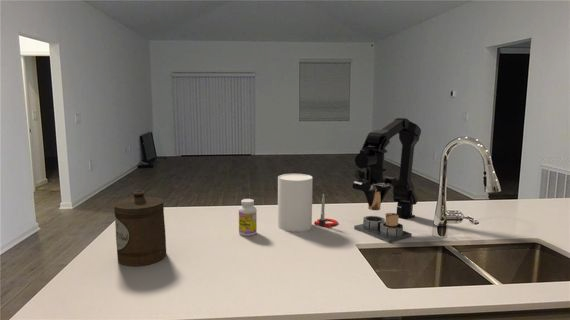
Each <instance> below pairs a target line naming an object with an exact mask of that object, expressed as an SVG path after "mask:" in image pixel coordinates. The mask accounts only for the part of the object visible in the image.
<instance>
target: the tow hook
mask: <svg viewBox="0 0 570 320" xmlns="http://www.w3.org/2000/svg"><path fill="white" fill-rule="evenodd" d="M325 201H326V200H325V194H324V193H323V194H322V199H321V211H320V218H319V219H317V220H314V222H313V224H314V226H315V225H316V226H320V227H326V228H330V227H331V226H334V227H335V226H337V225H338V221H337V220H335V219H332V218H325V204H326V202H325Z"/></svg>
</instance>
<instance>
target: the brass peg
mask: <svg viewBox="0 0 570 320" xmlns="http://www.w3.org/2000/svg"><path fill="white" fill-rule="evenodd" d="M374 190H375V194H374V198H373V203H372V206H369V205H368V207H367V209H369V211H380V210H381V204H382V202H381V191H380V190H377V189H374Z"/></svg>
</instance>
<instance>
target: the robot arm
mask: <svg viewBox="0 0 570 320" xmlns="http://www.w3.org/2000/svg"><path fill="white" fill-rule="evenodd" d="M397 134H398V138H399V141H400V143H401V155H400V166H399V173H398V175H399V176H398V179H397V178H396V177H394V176H393V177H392V176H388V175H387V176H385V175H384V174H385V172H387V168H386V167H385V154H386V153H388V150H387V149H386V148H387V146H388V145H389V144H390V139H392V138H393V137H394V136H396V135H397ZM421 134H422V129H421V127H420V126H419V124H418V125H417V123H415V122H413V121H410V120H409V119H408V118H405V117H397V118H394V120H392V122H390V123H388V124H387V125H386V126H384V127H382V128H381V129H377V130H373V131H370V132H368V134H367V135H366V138H365V140H364V143H363V145H362V147H361V149H359V152H358V153H357V154H356V156H355V158H354V163H355V165H356V167H357V168H358V169H356V170H354V178H355V179H356V180H355V181H353V182H352V189H354V190H358V191H361V192H363V193H364V195H365V198H366V201H367V204H368V206H372V203H373V198H374V194H375V190H380V191H381V203H382V202H383V201H384V199H385V197H386V195H387V194H388V192H389V191H390V189H392V197H393V198H392V199H393V202H396V203H397V204H396V205H397V206H396V214H398V218H401V219H404V220H407V219H411V218H416V215H414V214H413V208H414V207H413V206H415V205H417V203H418V199H419V198H418V197H417V195H416V193H415V186H414V183H413V182H412V172H413V171H412V170H413V165H414V164H413V162H414V153H415V146H416V144H417V143H418V142H419V140H420V136H421ZM361 169H365V171H362V170H361ZM389 184H390V185H389ZM374 187H375V188H376V189H374Z"/></svg>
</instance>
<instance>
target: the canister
mask: <svg viewBox="0 0 570 320" xmlns="http://www.w3.org/2000/svg"><path fill="white" fill-rule="evenodd" d="M313 180H314V179H313V176H312V175H311V174H304V173H283V174H281V175H278V176H277V228H278V229H279V230H281V229H282V230H281V231H286V232H290V231H291V232H293V233H295V232H296V233H297V232H306V231H309V230H310V229H312V228H313V227H312V226H313V223H312V222H313V221H312V220H313Z"/></svg>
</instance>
